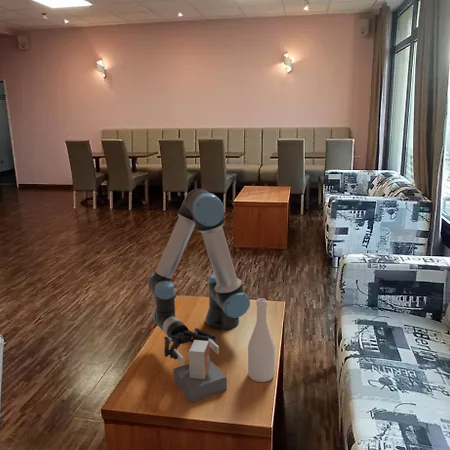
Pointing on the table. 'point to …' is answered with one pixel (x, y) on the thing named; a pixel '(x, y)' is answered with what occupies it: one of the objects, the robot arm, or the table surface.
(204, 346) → the small box
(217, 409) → the table surface
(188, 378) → the plinth
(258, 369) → the wine bottle
